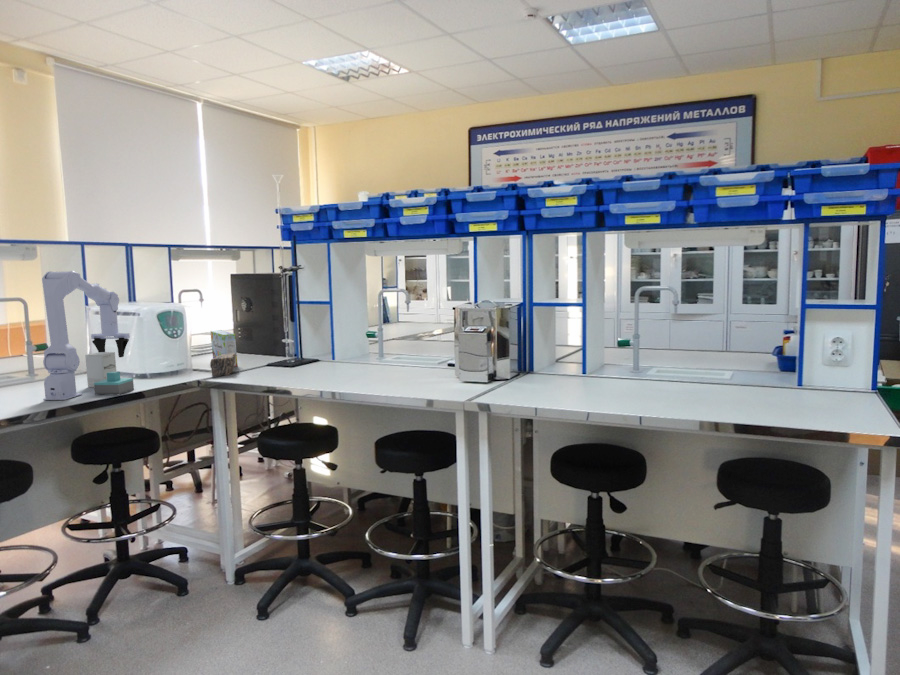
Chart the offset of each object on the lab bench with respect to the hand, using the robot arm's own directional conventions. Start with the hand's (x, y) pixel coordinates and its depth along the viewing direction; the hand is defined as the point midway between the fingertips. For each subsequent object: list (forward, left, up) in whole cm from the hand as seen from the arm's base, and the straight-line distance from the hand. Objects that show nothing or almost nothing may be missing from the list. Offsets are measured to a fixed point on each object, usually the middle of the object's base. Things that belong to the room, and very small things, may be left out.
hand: (112, 357), depth 248 cm
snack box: (+44, -25, -10) cm, 52 cm away
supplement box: (-7, 0, -10) cm, 12 cm away
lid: (-19, -13, -7) cm, 24 cm away
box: (-19, -13, -10) cm, 25 cm away
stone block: (+20, -37, -10) cm, 43 cm away
